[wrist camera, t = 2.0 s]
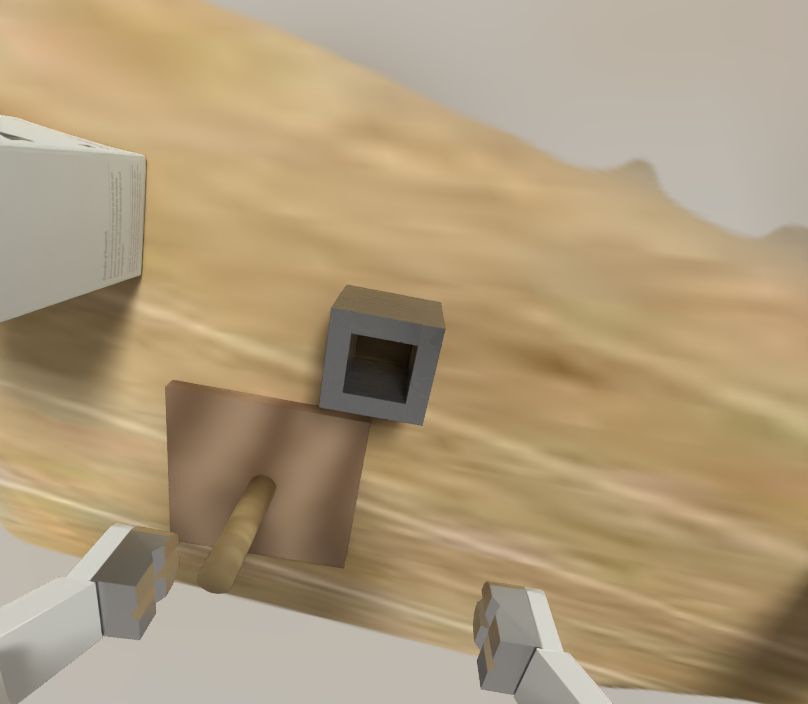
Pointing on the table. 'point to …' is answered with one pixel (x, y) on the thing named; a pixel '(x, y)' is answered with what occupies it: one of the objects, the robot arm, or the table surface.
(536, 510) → the table surface
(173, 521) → the post board
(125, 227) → the supplement box
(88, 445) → the table surface
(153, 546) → the robot arm
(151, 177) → the table surface
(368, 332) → the collar
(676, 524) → the table surface
